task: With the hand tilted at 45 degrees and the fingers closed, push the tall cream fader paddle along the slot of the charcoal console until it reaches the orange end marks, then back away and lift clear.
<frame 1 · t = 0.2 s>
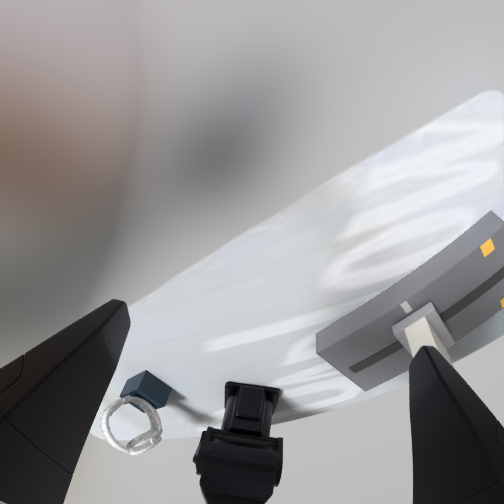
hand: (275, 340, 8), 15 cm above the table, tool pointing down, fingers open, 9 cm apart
fader: (436, 365, 20), point 7 cm above the table, slide at 0.0 cm
watch: (149, 383, 38), on the table
console: (424, 306, 25), on the table
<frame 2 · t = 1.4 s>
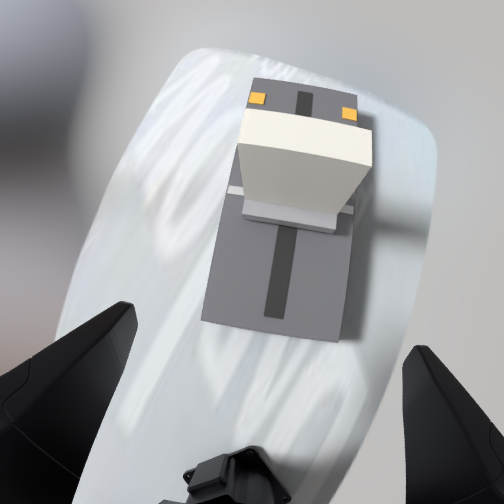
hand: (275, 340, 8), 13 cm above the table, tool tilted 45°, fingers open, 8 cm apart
fader: (298, 172, 16), point 7 cm above the table, slide at 0.0 cm
console: (290, 199, 23), on the table
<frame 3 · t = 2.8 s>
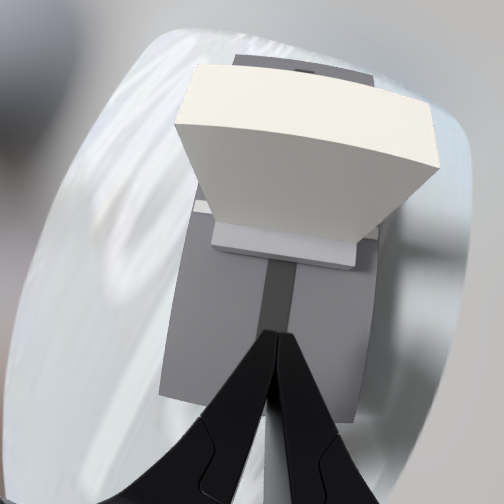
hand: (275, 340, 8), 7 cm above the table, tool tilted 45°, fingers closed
fader: (298, 178, 10), point 7 cm above the table, slide at 0.0 cm
console: (285, 217, 17), on the table
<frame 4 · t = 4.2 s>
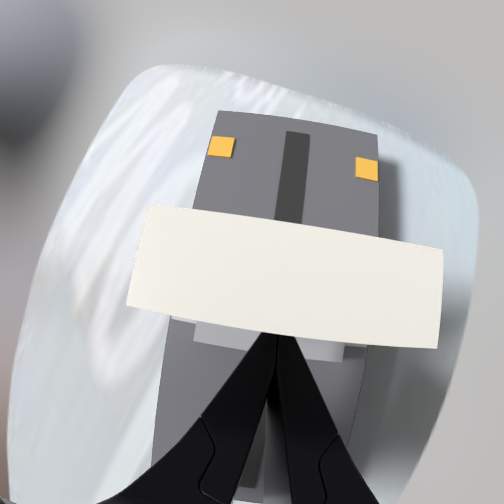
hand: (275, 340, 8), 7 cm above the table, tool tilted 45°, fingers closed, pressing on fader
fader: (281, 297, 9), point 7 cm above the table, slide at 1.1 cm, touching gripper
console: (272, 309, 16), on the table
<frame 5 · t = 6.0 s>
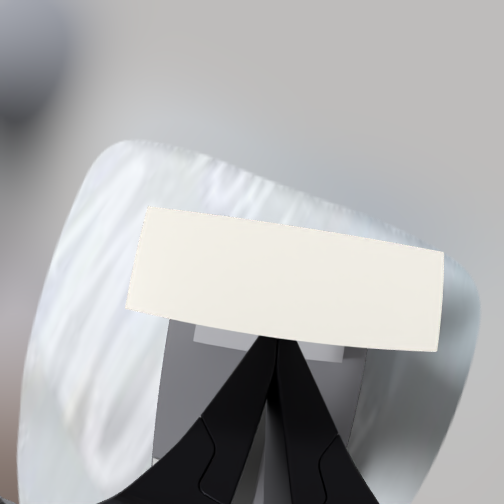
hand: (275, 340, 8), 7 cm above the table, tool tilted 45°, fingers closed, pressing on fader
fader: (281, 298, 9), point 7 cm above the table, slide at 8.8 cm, touching gripper
console: (248, 446, 14), on the table
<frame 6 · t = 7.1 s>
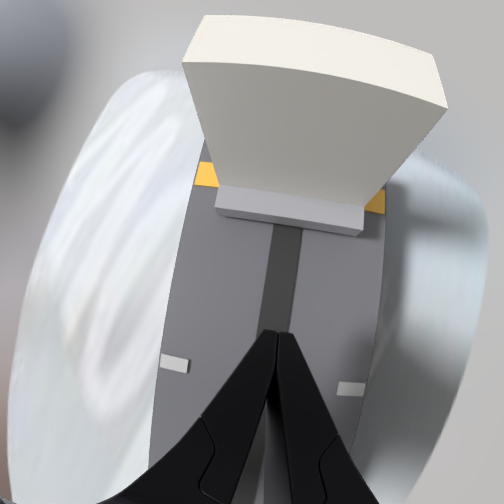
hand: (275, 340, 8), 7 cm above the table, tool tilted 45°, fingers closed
fader: (304, 134, 9), point 7 cm above the table, slide at 8.5 cm
console: (266, 350, 14), on the table
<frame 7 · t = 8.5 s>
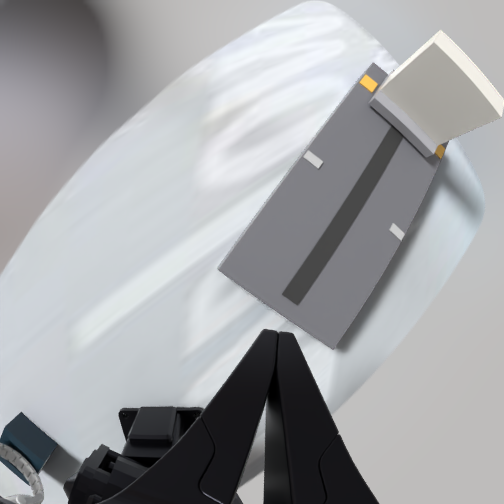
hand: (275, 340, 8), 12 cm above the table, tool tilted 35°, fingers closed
fader: (437, 95, 15), point 7 cm above the table, slide at 8.5 cm
watch: (32, 442, 18), on the table
console: (348, 192, 21), on the table
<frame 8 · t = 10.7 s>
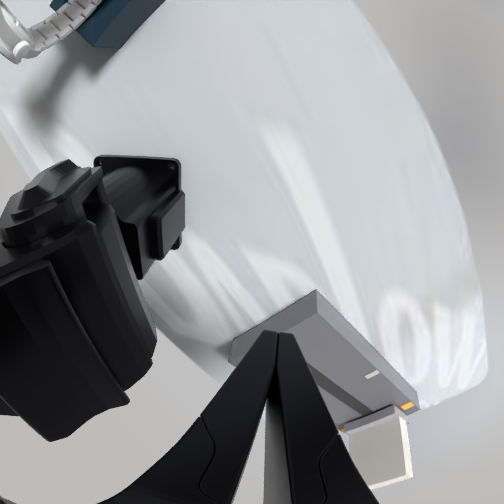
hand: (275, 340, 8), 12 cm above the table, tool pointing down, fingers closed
fader: (379, 451, 24), point 7 cm above the table, slide at 8.5 cm
watch: (119, 4, 13), on the table
console: (339, 373, 27), on the table
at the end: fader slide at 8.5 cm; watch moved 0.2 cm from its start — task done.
